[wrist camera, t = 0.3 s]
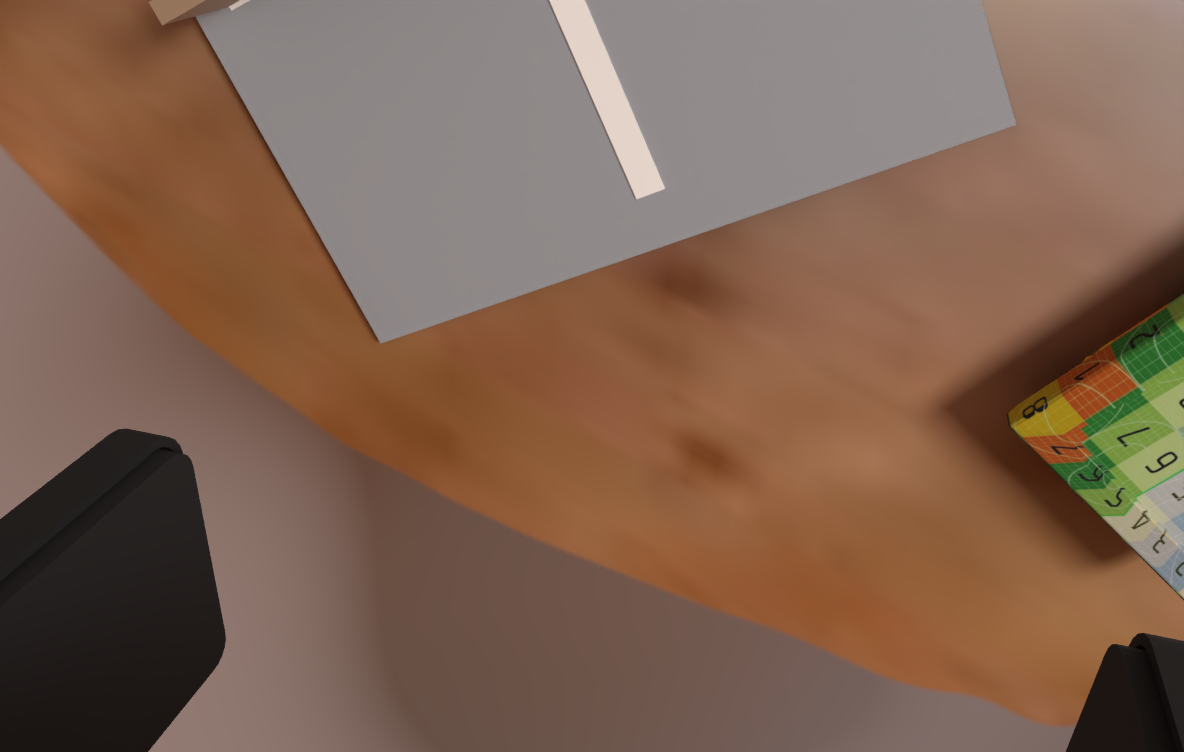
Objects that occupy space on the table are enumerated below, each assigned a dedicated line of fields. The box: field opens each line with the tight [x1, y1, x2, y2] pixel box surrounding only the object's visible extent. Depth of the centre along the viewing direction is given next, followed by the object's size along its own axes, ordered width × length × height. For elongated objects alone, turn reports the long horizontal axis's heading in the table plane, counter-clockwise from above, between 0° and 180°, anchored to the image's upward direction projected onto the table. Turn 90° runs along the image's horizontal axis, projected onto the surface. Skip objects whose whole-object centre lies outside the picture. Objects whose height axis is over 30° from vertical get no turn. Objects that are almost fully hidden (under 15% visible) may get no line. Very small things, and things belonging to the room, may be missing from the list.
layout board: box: [149, 0, 1016, 343], centre depth 40 cm, size 24×32×6 cm
